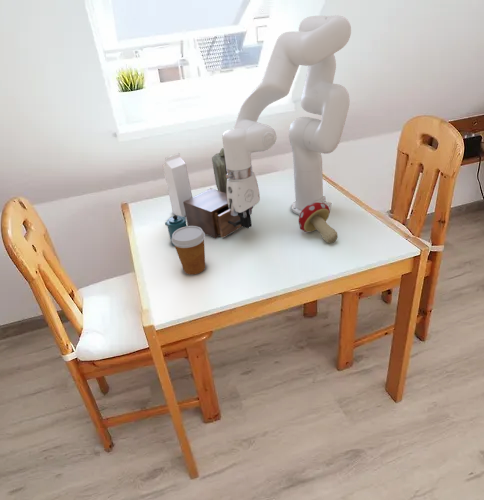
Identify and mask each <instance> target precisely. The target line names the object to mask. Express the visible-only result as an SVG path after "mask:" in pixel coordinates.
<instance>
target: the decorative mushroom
mask: <svg viewBox="0 0 484 500" xmlns="http://www.w3.org/2000/svg"><path fill="white" fill-rule="evenodd" d="M330 212H331V209H330V210H329V207H328V206H327V205H326V204H324V203H318V202H315V203H312V204H309V205H307V206H306V207H305V208H304V209H303V210H302V211H301V213H300V215H298V227H299V229H300V230H301V231H303V232H304V233H311V232H314V231H317V232H318V233H319V234H320V236H321V237H322V239H323V240H324V241H325V243H328V244H332V243H335V242H336V241H337V240H338V238H339V236H338V235H339V234H338V232H337V230H336V229H334V228H333V227H332V226H330V225H329V224H328V223H327V220H329V216H330Z"/></svg>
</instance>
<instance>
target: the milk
mask: <svg viewBox="0 0 484 500" xmlns="http://www.w3.org/2000/svg"><path fill="white" fill-rule="evenodd" d="M164 160H165V161H164V163H163V164H162V171H163V175H164V178H165V184H166V187H167V192H168V197H169V202H170V205H171V211H172V214H173V215H177V216H182V217H184V218H186V213H185V208H184V204H183V202H184V201H186V200H188V199H190V198H192V197H193V192H192V187H191V182H190V178H189V172H188V167H187V163H186V161H184V159H183V158H182V157H181V153H179V152H178V153H175V154H172V155H169V156H167V157H165V159H164Z"/></svg>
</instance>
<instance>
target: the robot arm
mask: <svg viewBox="0 0 484 500" xmlns="http://www.w3.org/2000/svg"><path fill="white" fill-rule="evenodd" d="M351 35H352V26H351V22H350V21H349V20H348V19H347V18H346V17H345V16H342V15H311V16H306V17H304V18H303V19H302V20H301V21H300V23H299V27H298V31H286V32H282V33H281V34H280V35H279V36H278V38H277V39H276V41H275V44H274V45H273V49H272V52H271V54H270V57H269V61H268V63H267V66H266V68H265V71H264V74H263V77H262V79H261V82H260V83H259V84H258V86H256V87H255V88H254V89H253V90H252V92H251V93H250V94H249V95H248V96H247V97H246V98H245V100H244V101H243V103H242V104H241V106H240V108H239V111H238V114H237V116H236V119H235V122H234V126H233V128H231V129H227V130H226V131H224V132H223V133H222V135H223V136H222V138H221V140H222V146H223V147H222V148H224V154H225V162H226V169H227V174H226V178H227V202H228V207H229V209H230V210H231V215H232V216H237V215H238V216H240V221H241V226H242V227H241V228H245V229H249V228H251V227H252V226H253V225H252V217H251V216H252V214H253V208H254V207H255V206H256V205H257V204H259V202H260V201H261V197H260V190H259V184H258V183H259V182H258V180H257V177H256V174H255V172H254V171H253V164H252V154H253V153H260V152H264V151H268V150H270V149H271V148H273V147H274V145H275V144H276V142H277V133H276V130H275V129H274V128H273V127H272V126H270V125H268V124H265V123H262V122H258V120H259V117H260V115H261V114H262V112H263V111H264V110H265V109H266V108H267V107H268V106H270V105H271V104H273V103H274V102H278V101H279V100H281V99H283V98H285V97H287V96H288V95H289V94H290V91H291V88H292V85H293V83H294V80H295V77H296V75H297V73H298V70H299V67H300V66H306V67H307V70H306V75H305V79H304V83H303V88H302V92H301V97H300V107H301V108H302V110H303V111H305V112H307V113H310V114H314V115H319V116H321V119H319V118H314V117H309V116H300V117H297V118H295V119H294V120H293V121H292V122H291V123H290V125H289V127H288V139H289V144H290V147H291V152H292V159H293V160H292V163H293V164H292V165H293V180H294V183H293V184H294V199H295V200H294V202H292V204H291V212H292V213H293V214H296V215H298V216H300V213H301V211H302V210H303V209H304V208H305V207H306V206H307V205H309V204H312V203H315V202H318V203H324V204H326V205H327V206H328V207H329V210H330V211H331V208H332V205H333V204H332V202H329V201H327V200H326V198H327V197H326V196H324V186H323V185H324V184H323V183H324V182H323V179H324V178H323V156H322V154H324V155H326V154H328V155H329V154H331V153H333V152H334V151H335V150H336V149H337V148H338V146H339V144H340V142H341V138H342V135H343V131H344V127H345V124H346V120H347V116H348V112H349V108H350V94H349V91H348V90H347V88H346V87H345V86H343V84H338V83H334V79H335V75H336V71H337V62H336V61H337V60H336V57H335V54H336V53H337V52H339V51H341V50H342V49H343V48H344V47H345V46H347V44H348V42H349V41H350V38H351Z"/></svg>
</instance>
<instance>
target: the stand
mask: <svg viewBox="0 0 484 500" xmlns="http://www.w3.org/2000/svg"><path fill="white" fill-rule="evenodd" d="M183 204H184V208H185V213H186V216H185V219H186V224H187V226H197V227H200V228H201V229H202V230H203V232H204V233H205V235H206V236H209V237H212V238H214V239H217V238H219V237H221V235H220V234H218V233H216V227H215V221H214V215H213V213H215V212H217V211H218V210H220V209H222V208H224V207H226V206H228V202H227V193H224V192H221V191H218V189H214V188H211V187H210V188H209V189H207V190H204V191H202V192H201V193H198V194H196V195H194V196H192V198H190V199H188V200H186V201H184V202H183Z"/></svg>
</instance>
